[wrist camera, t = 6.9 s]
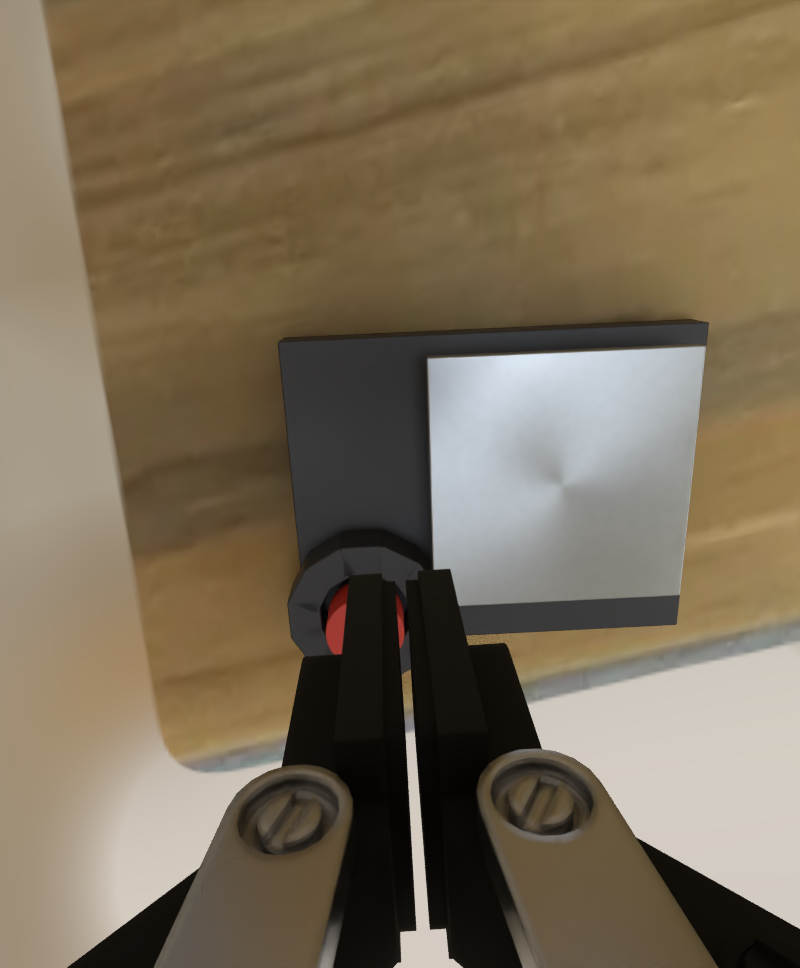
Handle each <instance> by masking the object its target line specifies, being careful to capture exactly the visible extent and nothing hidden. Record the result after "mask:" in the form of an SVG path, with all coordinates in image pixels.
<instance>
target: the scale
mask: <svg viewBox="0 0 800 968" xmlns="http://www.w3.org/2000/svg"><path fill="white" fill-rule="evenodd" d="M708 325H709V323H708V322H703V321H698V320H692V319H686V320H664V321H642V322H619V323H597V324H575V325H553V326H531V327H509V328H487V329H465V330H442V331H420V332H398V333H376V334H354V335H332V336H310V337H288V338H283V339H282V340H280V341H279V342H278V348H279V358H280V368H281V378H282V388H283V398H284V408H285V418H286V428H287V438H288V448H289V458H290V468H291V478H292V488H293V498H294V508H295V518H296V528H297V539H298V549H299V559H300V570H299V572H298V574H297V576H296V578H295V580H294V582H293V585H292V588H291V592H290V596H289V599H288V603H287V605H288V614H289V623H290V632H291V638H292V640H293V641H294V642H295V644H296V645H297V646H298V647H299V649H300V650H301V651H302V652H303V654H304V655H305V656H319V655H334V654H333V652H332V651H331V649H330V648H329V646H328V643H327V640H326V625H327V618H328V612H329V606H330V602H331V600H332V598H333V596H334V595H335V594H336V592H337V591H338V590H339V589H340V588H342V587H343V586H345V585H346V584H348V583H349V575H362V574H378V573H382V579H383V582H387V581H395V586H396V594H397V595H398V597H399V598H400V600H401V603H402V606H403V615H404V631H405V632H404V641H403V644H402V646H401V648H400V660H401V674H403V673H405V672H406V671H408V670H410V669H411V662H410V645H409V629H408V613H407V597H406V580H417V579H418V571H423V570H432V558H431V523H430V488H429V454H428V419H427V384H426V356H436V355H458V354H480V353H502V352H523V351H545V350H567V349H589V348H611V347H633V346H655V345H677V344H703V345H706V344H707V335H708ZM679 597H680V595H673V596H653V597H633V598H613V599H593V600H573V601H553V602H533V603H513V604H493V605H473V606H459V609H460V613H461V617H462V621H463V626H464V630H465V634H466V635H483V634H503V633H522V632H542V631H562V630H582V629H601V628H621V627H641V626H661V625H676V624H677V616H678V606H679Z"/></svg>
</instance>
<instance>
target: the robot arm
mask: <svg viewBox="0 0 800 968" xmlns="http://www.w3.org/2000/svg"><path fill="white" fill-rule="evenodd" d="M406 597H407V613H408V629H409V645H410V662H411V678H412V694H413V711H414V726H415V738H416V753H417V766H418V780H419V793H420V805H421V818H422V832H423V844H424V857H425V871H426V884H427V898H428V911H429V924H430V930H431V929H445V928H446V932H447V942H448V952H449V959H454V960H455V961H456V962H457V963H459V964H460V965H461V966H462V967H463V968H800V929H799V928H797V927H795V926H793V925H791V924H789V923H788V922H786V921H784V920H783V919H781V918H779V917H777V916H775V915H774V914H772V913H770V912H768V911H766V910H765V909H763V908H761V907H759V906H758V905H756V904H754V903H752V902H750V901H748V900H747V899H745V898H743V897H741V896H740V895H738V894H736V893H734V892H733V891H730V890H729V889H727V888H725V887H724V886H722V885H720V884H718V883H717V882H715V881H713V880H711V879H709V878H708V877H706V876H704V875H702V874H700V873H699V872H697V871H695V870H693V869H691V868H690V867H688V866H686V865H684V864H683V863H681V862H679V861H677V860H675V859H674V858H672V857H670V856H668V855H667V854H665V853H663V852H661V851H659V850H658V849H656V848H654V847H652V846H650V845H649V844H647V843H645V842H643V841H642V840H640V839H638V838H636V837H635V835H634V834H633V832H632V830H631V829H630V827H629V826H628V824H627V823H626V821H625V819H624V818H623V816H622V815H621V813H620V811H619V810H618V808H617V807H616V805H615V804H614V802H613V800H612V799H611V797H610V796H609V794H608V793H607V791H606V790H605V788H604V786H603V785H602V783H601V782H600V781H599V779H598V778H597V777H596V776H595V775H594V774H593V772H592V771H591V770H590V769H589V768H587V767H586V766H584V765H583V764H581V763H580V762H578V761H577V760H576V759H574V758H572V757H569V756H566V755H564V754H561V753H559V752H556V751H550V750H543V749H542V748H541V745H540V742H539V739H538V736H537V733H536V730H535V727H534V724H533V721H532V718H531V715H530V712H529V709H528V706H527V703H526V700H525V697H524V694H523V691H522V688H521V685H520V682H519V679H518V676H517V673H516V670H515V667H514V664H513V661H512V658H511V655H510V652H509V649H508V647H507V645H506V644H505V643H498V644H483V645H468V643H467V639H466V634H465V630H464V626H463V621H462V617H461V613H460V609H459V604H458V600H457V596H456V591H455V587H454V583H453V578H452V574H451V570H450V569H438V570H423V571H418V579H417V580H406ZM409 809H410V808H409V790H408V773H407V754H406V736H405V720H404V705H403V690H402V675H401V660H400V645H399V630H398V616H397V601H396V586H395V581H387V582H383V579H382V573H378V574H362V575H349V583H348V594H347V604H346V615H345V625H344V636H343V646H342V654H334V655H319V656H305V657H304V658H303V660H302V664H301V669H300V674H299V680H298V685H297V690H296V695H295V700H294V705H293V711H292V716H291V721H290V726H289V731H288V736H287V742H286V747H285V752H284V757H283V762H282V767H281V768H277V769H274V770H271V771H268V772H266V773H264V774H262V775H261V776H259V777H257V778H255V779H253V780H252V781H250V782H249V783H248V784H247V785H246V786H245V787H244V788H242V789H241V790H240V791H239V792H238V793H237V794H236V796H235V797H234V799H233V800H232V802H231V803H230V805H229V806H228V808H227V810H226V812H225V814H224V816H223V818H222V821H221V823H220V825H219V827H218V829H217V831H216V834H215V836H214V838H213V840H212V843H211V844H210V847H209V849H208V851H207V853H206V855H205V857H204V860H203V862H202V864H201V866H200V868H199V869H197V870H196V871H195V872H194V873H192V874H191V875H190V876H188V877H187V878H185V879H184V880H183V881H182V882H180V883H179V884H177V885H176V886H175V887H173V888H172V889H171V890H169V891H168V892H167V893H166V894H164V895H163V896H162V897H160V898H159V899H158V900H156V901H155V902H154V903H152V904H151V905H150V906H148V907H147V908H146V909H144V910H143V911H142V912H140V913H139V914H138V915H136V916H135V917H134V918H132V919H131V920H130V921H128V922H127V923H126V924H125V925H123V926H122V927H120V928H119V929H118V930H116V931H115V932H114V933H112V934H111V935H110V936H108V937H107V938H106V939H104V940H103V941H102V942H100V943H99V944H98V945H96V946H95V947H94V948H93V949H91V950H90V951H89V952H87V953H86V954H85V955H83V956H82V957H81V958H79V959H78V960H77V961H75V962H74V963H73V964H71V965H70V966H69V967H68V968H393V967H394V966H395V965H396V964H397V963H399V962H401V946H400V932H404V931H416V916H415V899H414V880H413V863H412V846H411V845H412V844H411V826H410V810H409Z"/></svg>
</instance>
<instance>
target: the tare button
mask: <svg viewBox="0 0 800 968" xmlns="http://www.w3.org/2000/svg"><path fill="white" fill-rule="evenodd" d="M347 594H348V584H346V585H345V586H343V587H342V588H340V589H339V590H338V591H337V592H336V594H335V595H334V596H333V598H332V600H331V602H330V606H329V612H328V618H327V625H326V640H327V643H328V646H329V648H330V649H331V651H332V652H333V654H342V646H343V636H344V625H345V615H346V604H347ZM396 601H397V616H398V630H399V645H400V648H401V646H402V644H403V641H404V632H405V631H404V615H403V606H402V603H401V600H400V598H399V597H398V595H397V594H396Z"/></svg>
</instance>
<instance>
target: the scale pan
mask: <svg viewBox="0 0 800 968" xmlns="http://www.w3.org/2000/svg"><path fill="white" fill-rule="evenodd" d="M705 354H706V345H703V344H677V345H655V346H633V347H611V348H589V349H567V350H545V351H523V352H502V353H480V354H458V355H436V356H426V384H427V419H428V454H429V488H430V523H431V558H432V570H438V569H450V570H451V574H452V578H453V583H454V587H455V591H456V596H457V600H458V604H459V606H473V605H493V604H513V603H533V602H553V601H573V600H593V599H613V598H633V597H653V596H673V595H680V588H681V578H682V569H683V560H684V550H685V541H686V531H687V522H688V513H689V503H690V494H691V485H692V475H693V466H694V457H695V447H696V438H697V429H698V419H699V410H700V400H701V391H702V382H703V372H704V363H705Z"/></svg>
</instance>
